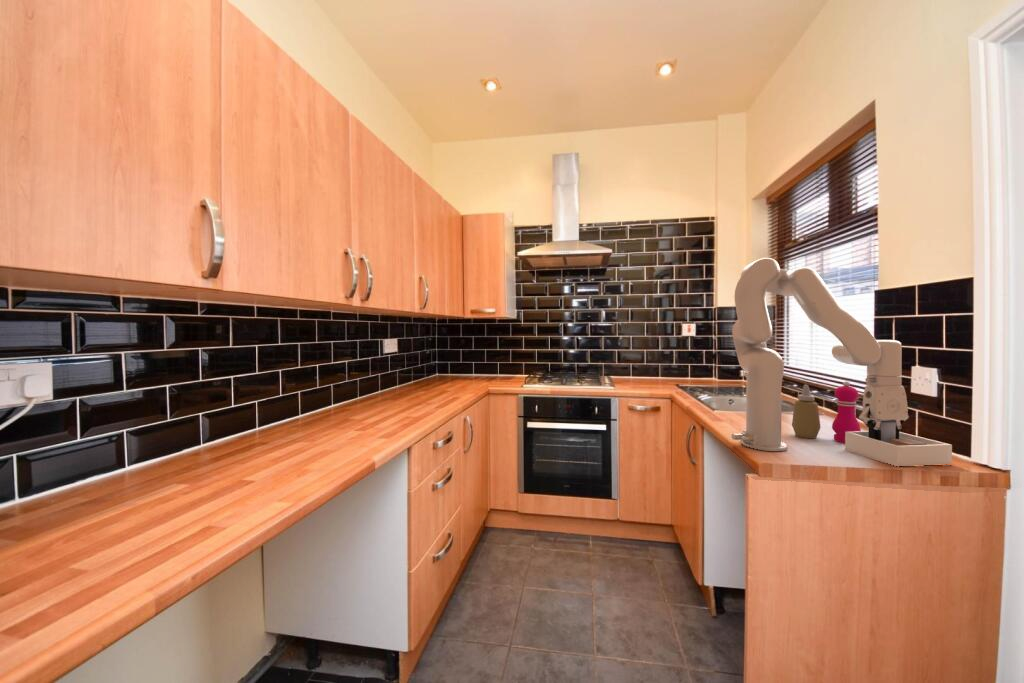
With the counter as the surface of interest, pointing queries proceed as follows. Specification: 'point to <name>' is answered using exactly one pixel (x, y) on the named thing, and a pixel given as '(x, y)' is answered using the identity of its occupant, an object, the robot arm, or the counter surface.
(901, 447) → the tray
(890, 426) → the grey upright block
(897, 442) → the walnut cube
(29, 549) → the counter surface
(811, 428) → the squeeze bottle
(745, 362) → the robot arm
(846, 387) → the pepper mill
